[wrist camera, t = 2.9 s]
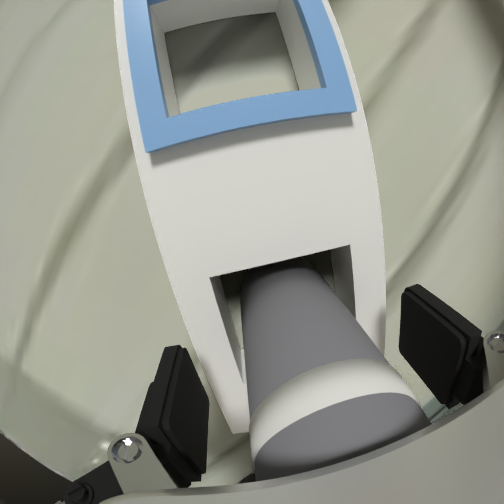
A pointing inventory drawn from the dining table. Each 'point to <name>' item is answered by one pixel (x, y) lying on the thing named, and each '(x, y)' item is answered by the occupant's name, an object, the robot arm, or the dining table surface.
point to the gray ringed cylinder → (314, 376)
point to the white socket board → (253, 175)
